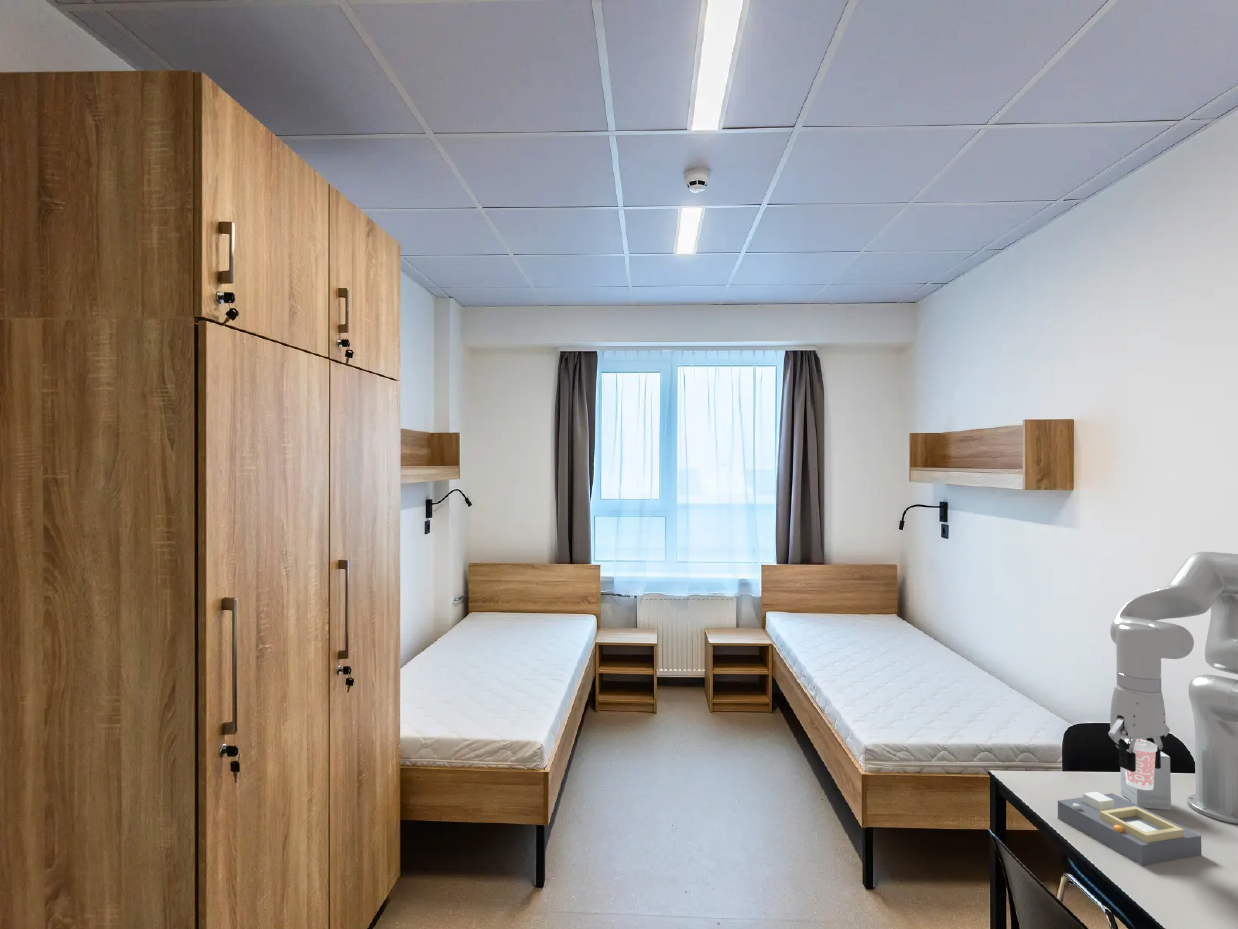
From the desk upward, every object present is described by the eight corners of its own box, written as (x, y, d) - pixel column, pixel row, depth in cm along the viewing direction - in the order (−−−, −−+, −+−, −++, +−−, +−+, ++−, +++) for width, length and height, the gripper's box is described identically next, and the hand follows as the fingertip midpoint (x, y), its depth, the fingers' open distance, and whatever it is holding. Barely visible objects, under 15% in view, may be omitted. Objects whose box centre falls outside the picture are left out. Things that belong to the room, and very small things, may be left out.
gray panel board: (1112, 810, 154) (1112, 786, 154) (1201, 855, 135) (1201, 828, 135) (1057, 818, 150) (1057, 794, 150) (1141, 865, 131) (1141, 838, 132)
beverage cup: (1117, 783, 139) (1116, 717, 140) (1127, 776, 143) (1126, 712, 143) (1153, 794, 134) (1152, 726, 135) (1162, 786, 138) (1161, 720, 139)
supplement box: (1172, 811, 154) (1171, 757, 154) (1136, 807, 155) (1136, 754, 155) (1153, 796, 161) (1152, 744, 161) (1119, 793, 162) (1118, 742, 163)
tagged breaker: (1138, 839, 141) (1138, 820, 141) (1158, 849, 137) (1157, 830, 137) (1124, 841, 140) (1124, 822, 140) (1143, 851, 136) (1143, 832, 136)
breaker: (1096, 809, 150) (1096, 791, 150) (1113, 817, 146) (1113, 799, 146) (1083, 811, 149) (1082, 793, 149) (1099, 819, 145) (1099, 801, 145)
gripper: (1151, 675, 145) (1152, 757, 145) (1090, 680, 141) (1091, 764, 140) (1188, 685, 138) (1189, 771, 137) (1124, 691, 134) (1125, 779, 133)
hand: (1139, 766), depth 139 cm, fingers closed on beverage cup, 6 cm apart
